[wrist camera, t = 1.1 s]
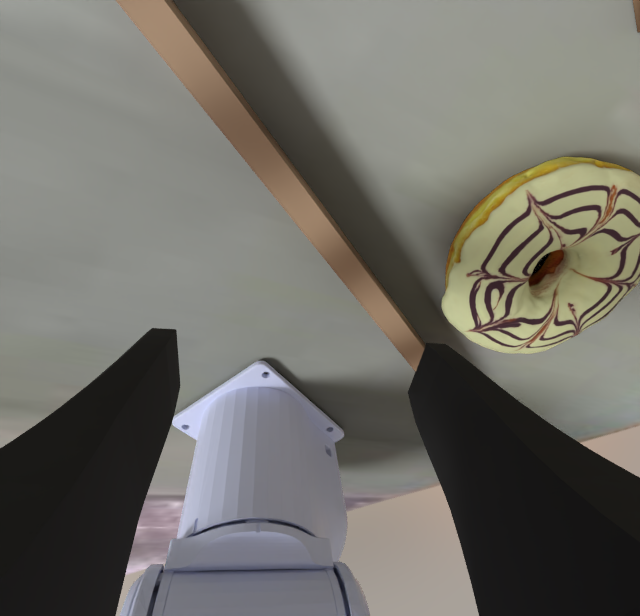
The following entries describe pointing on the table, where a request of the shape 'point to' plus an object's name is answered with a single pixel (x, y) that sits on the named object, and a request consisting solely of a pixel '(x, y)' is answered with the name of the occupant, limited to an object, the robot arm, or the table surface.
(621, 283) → the decorated donut
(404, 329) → the lane
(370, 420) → the table surface
